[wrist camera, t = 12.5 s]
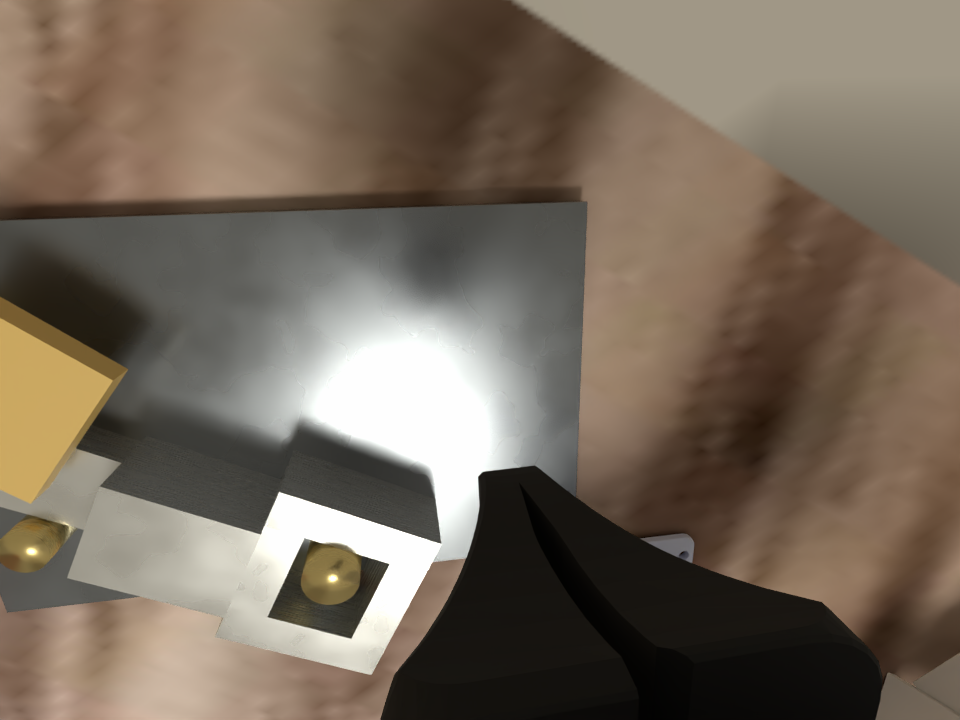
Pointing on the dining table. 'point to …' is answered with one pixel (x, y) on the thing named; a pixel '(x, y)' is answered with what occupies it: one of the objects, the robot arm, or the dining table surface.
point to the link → (242, 541)
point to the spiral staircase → (923, 695)
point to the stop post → (32, 543)
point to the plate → (321, 344)
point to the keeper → (45, 399)
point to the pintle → (330, 574)
